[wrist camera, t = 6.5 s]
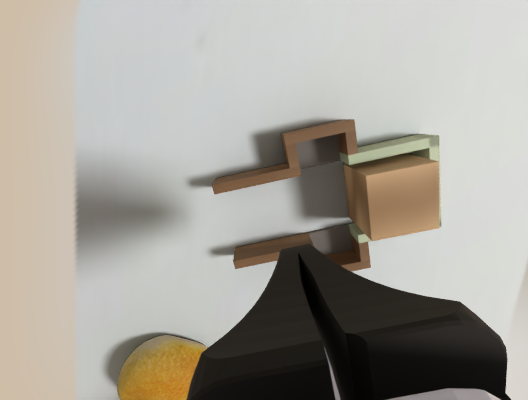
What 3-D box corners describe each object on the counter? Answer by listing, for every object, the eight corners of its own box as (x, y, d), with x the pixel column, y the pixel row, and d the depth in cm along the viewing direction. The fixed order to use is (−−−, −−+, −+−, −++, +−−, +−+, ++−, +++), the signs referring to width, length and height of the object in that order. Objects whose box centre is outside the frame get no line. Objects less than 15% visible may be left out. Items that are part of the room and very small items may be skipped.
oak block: (403, 206, 20) (439, 228, 16) (349, 217, 20) (371, 241, 16) (400, 152, 18) (438, 161, 15) (343, 164, 19) (366, 175, 15)
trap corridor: (424, 240, 20) (441, 253, 18) (243, 277, 21) (242, 293, 19) (418, 102, 17) (438, 100, 15) (208, 149, 18) (202, 153, 16)
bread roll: (203, 320, 22) (193, 362, 18) (233, 398, 25) (229, 449, 21) (109, 342, 23) (79, 387, 19) (147, 416, 25) (128, 469, 21)
